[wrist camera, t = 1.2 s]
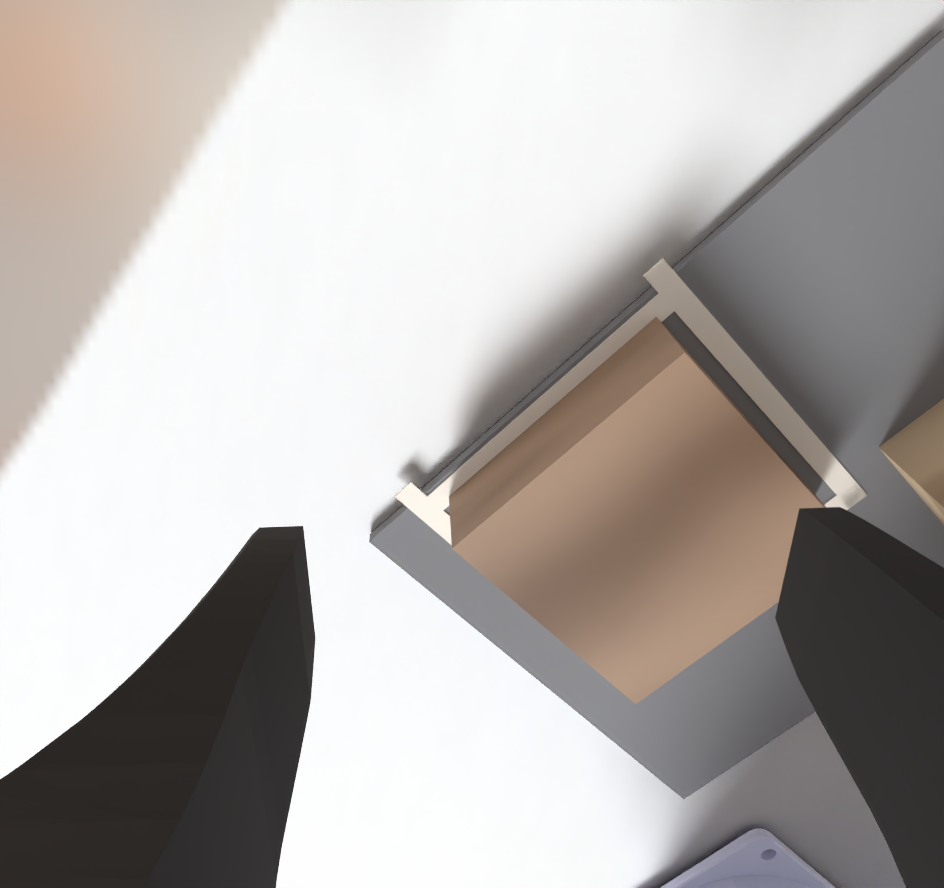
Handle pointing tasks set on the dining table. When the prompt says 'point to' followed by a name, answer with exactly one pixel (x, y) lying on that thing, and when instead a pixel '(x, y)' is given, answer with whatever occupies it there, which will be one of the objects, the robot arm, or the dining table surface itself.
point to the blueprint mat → (757, 407)
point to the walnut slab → (636, 516)
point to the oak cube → (922, 457)
